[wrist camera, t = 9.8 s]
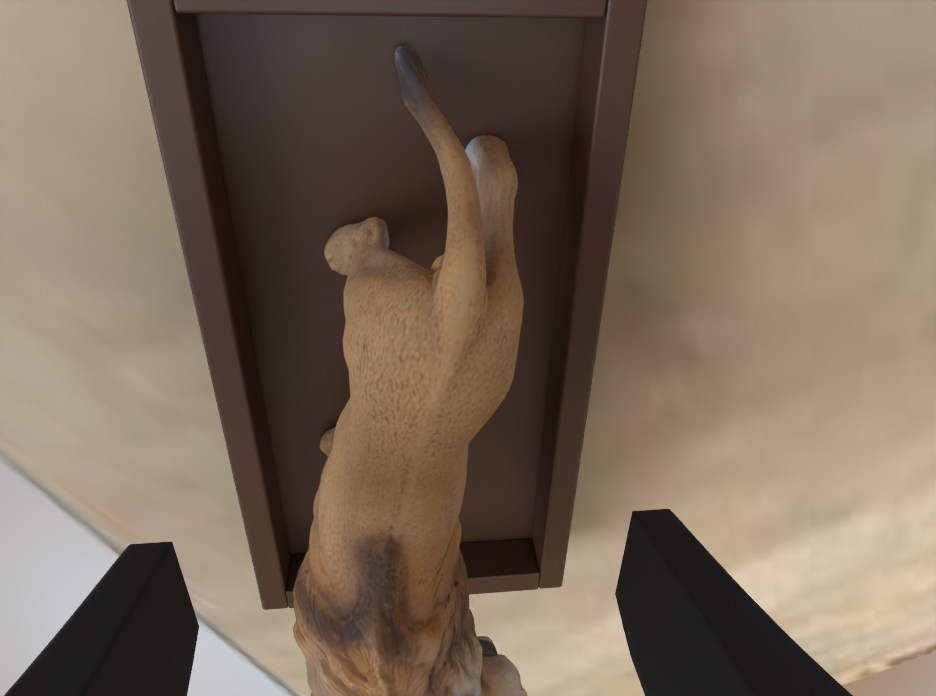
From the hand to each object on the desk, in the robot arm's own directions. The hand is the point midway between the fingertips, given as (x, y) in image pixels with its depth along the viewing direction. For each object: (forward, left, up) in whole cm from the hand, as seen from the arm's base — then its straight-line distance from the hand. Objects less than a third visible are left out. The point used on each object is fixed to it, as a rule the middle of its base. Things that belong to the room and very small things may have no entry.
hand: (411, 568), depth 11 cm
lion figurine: (0, +1, -8) cm, 8 cm away
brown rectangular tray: (0, +1, -9) cm, 9 cm away
